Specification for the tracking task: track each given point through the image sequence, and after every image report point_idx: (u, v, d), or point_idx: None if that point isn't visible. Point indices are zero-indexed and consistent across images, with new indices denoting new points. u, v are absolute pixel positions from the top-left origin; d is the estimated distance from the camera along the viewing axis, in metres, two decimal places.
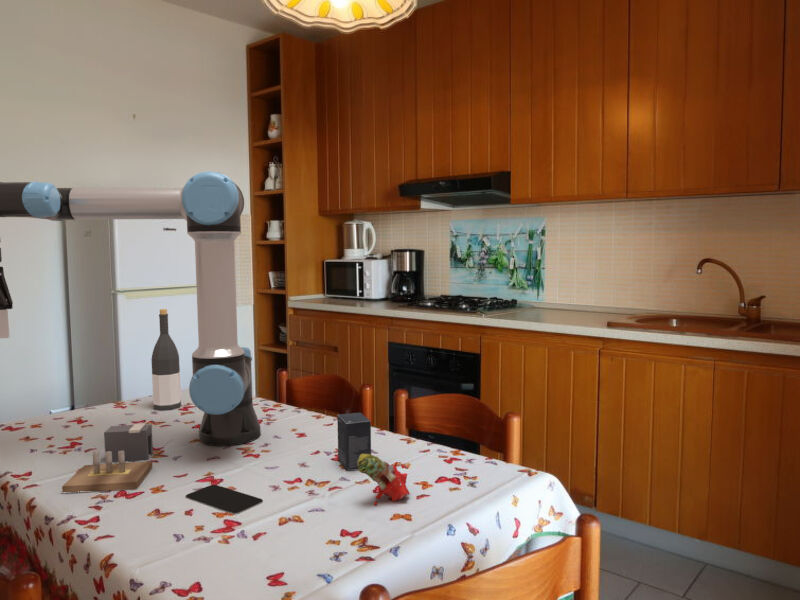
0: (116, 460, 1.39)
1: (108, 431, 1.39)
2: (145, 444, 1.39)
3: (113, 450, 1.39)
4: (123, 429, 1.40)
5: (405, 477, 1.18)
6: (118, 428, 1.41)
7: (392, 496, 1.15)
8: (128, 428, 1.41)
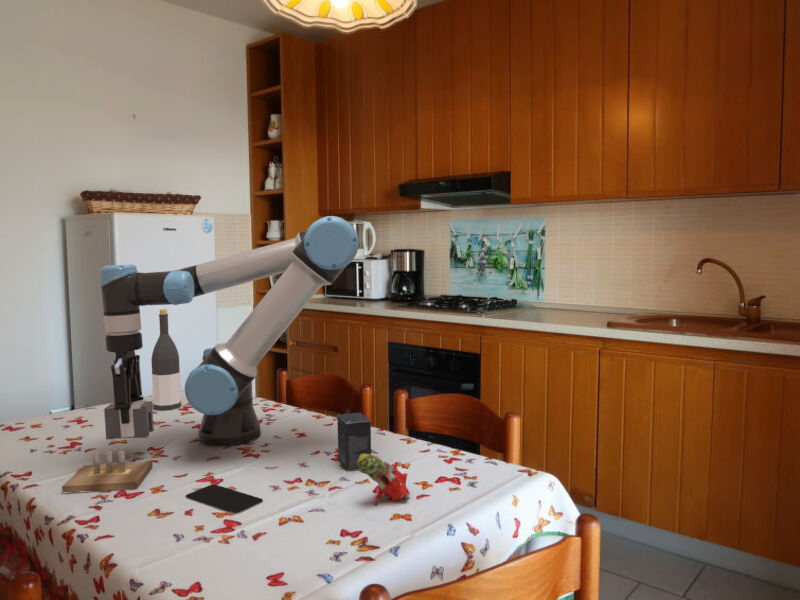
0: (117, 436, 1.38)
1: (108, 407, 1.38)
2: (145, 420, 1.39)
3: (113, 427, 1.38)
4: None
5: (405, 477, 1.18)
6: None
7: (392, 496, 1.15)
8: None
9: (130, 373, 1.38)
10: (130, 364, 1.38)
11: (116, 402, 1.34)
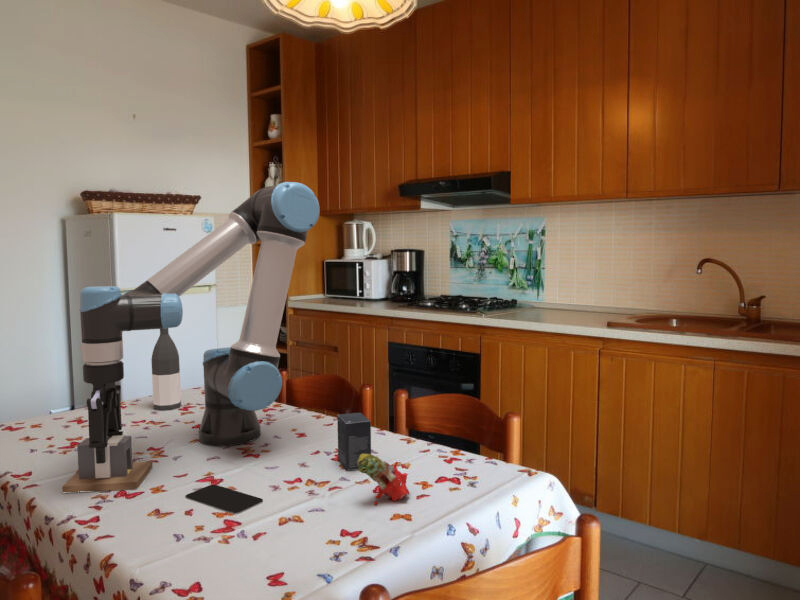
0: (91, 476, 1.25)
1: (82, 444, 1.25)
2: (123, 458, 1.25)
3: (87, 465, 1.24)
4: None
5: (405, 477, 1.18)
6: None
7: (392, 496, 1.15)
8: None
9: (108, 407, 1.24)
10: (109, 397, 1.24)
11: (91, 440, 1.21)
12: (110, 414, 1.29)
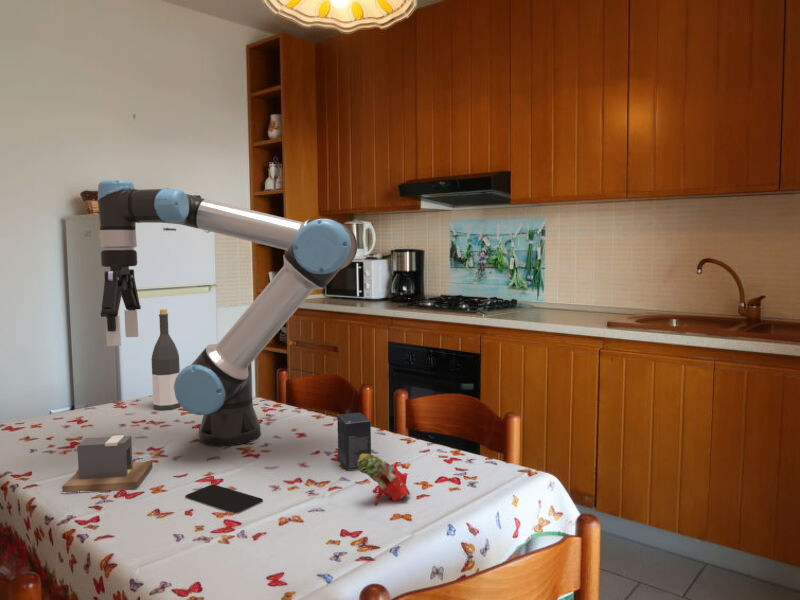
0: (91, 476, 1.25)
1: (82, 444, 1.25)
2: (123, 458, 1.25)
3: (87, 465, 1.24)
4: (99, 442, 1.26)
5: (405, 477, 1.18)
6: (93, 440, 1.27)
7: (392, 496, 1.15)
8: (105, 440, 1.27)
9: (123, 285, 1.38)
10: (124, 278, 1.39)
11: (103, 306, 1.32)
12: (128, 294, 1.45)
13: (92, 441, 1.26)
